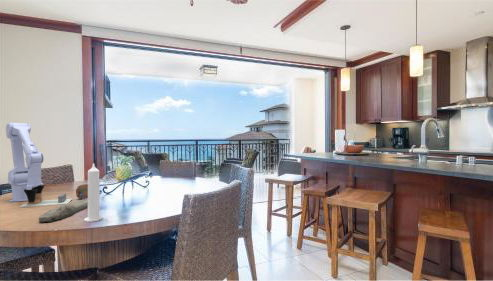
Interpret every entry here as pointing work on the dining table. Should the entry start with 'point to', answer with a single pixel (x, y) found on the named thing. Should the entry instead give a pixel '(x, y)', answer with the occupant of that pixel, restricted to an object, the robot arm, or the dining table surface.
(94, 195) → the candle
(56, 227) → the dining table surface
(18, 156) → the robot arm
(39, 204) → the board
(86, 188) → the tin
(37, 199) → the block
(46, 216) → the long grey stone
